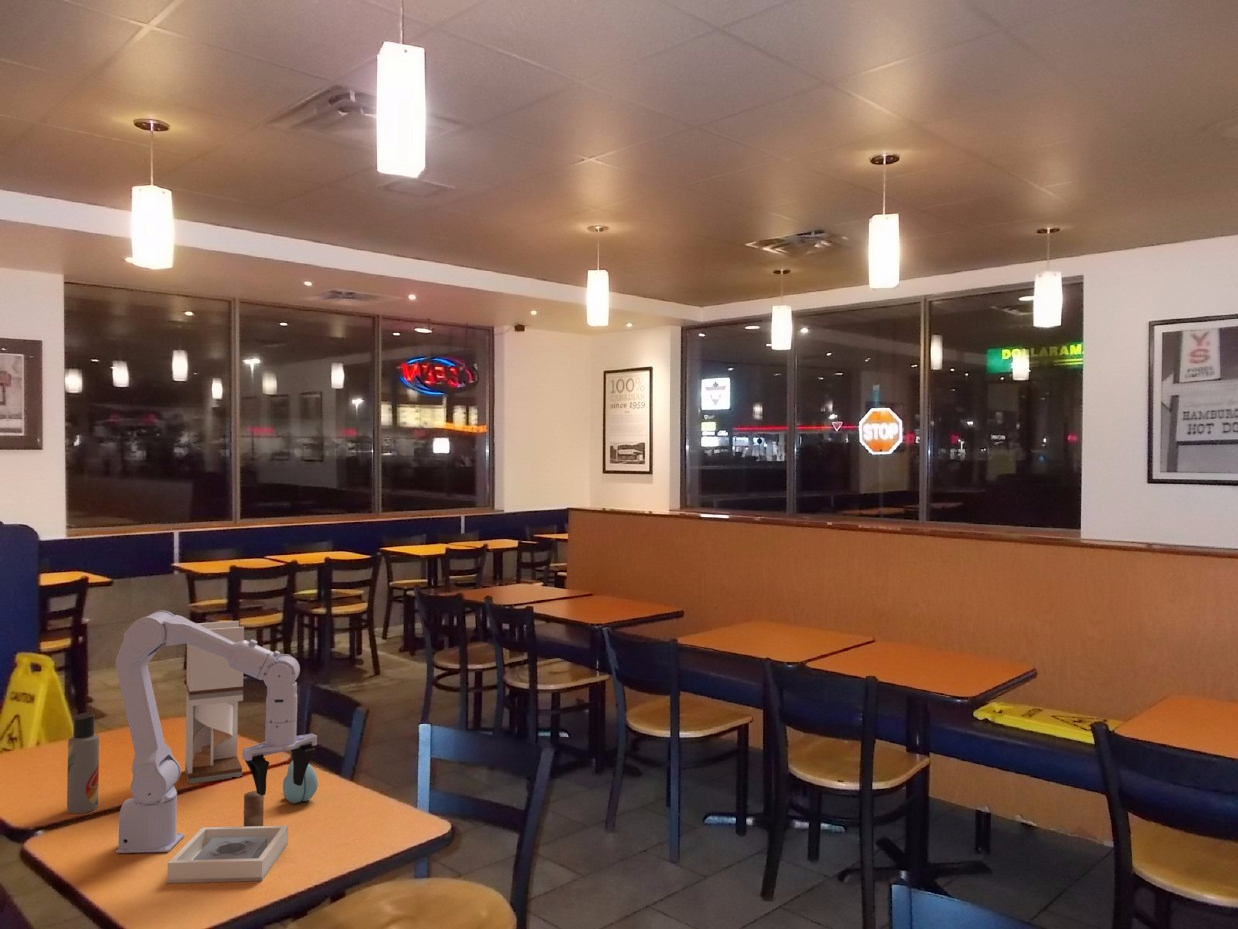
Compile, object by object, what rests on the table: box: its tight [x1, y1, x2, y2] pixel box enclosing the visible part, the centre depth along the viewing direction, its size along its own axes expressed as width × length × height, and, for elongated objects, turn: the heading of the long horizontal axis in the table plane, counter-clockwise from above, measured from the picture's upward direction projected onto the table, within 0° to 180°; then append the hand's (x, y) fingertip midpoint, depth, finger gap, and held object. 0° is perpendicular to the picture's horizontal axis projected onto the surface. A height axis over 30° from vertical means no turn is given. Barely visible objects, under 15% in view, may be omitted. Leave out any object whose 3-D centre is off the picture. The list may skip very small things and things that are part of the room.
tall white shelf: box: [184, 620, 245, 785], centre depth 216 cm, size 11×11×35 cm
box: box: [167, 825, 289, 884], centre depth 167 cm, size 16×16×4 cm
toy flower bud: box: [282, 760, 319, 804], centre depth 200 cm, size 7×9×12 cm
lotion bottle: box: [66, 712, 100, 815], centre depth 193 cm, size 6×6×20 cm
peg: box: [243, 790, 265, 827], centre depth 180 cm, size 4×4×8 cm
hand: (279, 789), depth 178 cm, fingers open, 7 cm apart
